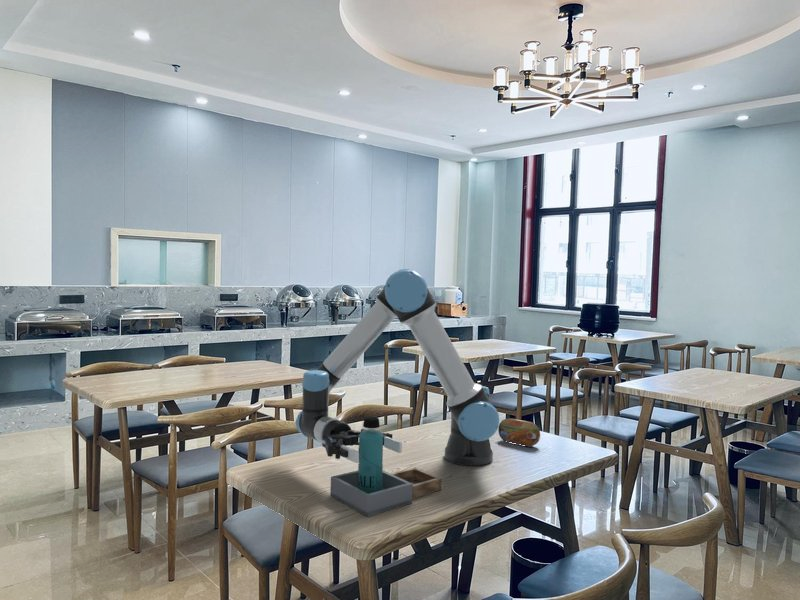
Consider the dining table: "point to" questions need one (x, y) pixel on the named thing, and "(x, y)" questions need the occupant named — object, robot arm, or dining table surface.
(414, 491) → the box
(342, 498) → the tub
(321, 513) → the dining table surface
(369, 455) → the beverage bottle
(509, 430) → the tin
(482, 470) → the dining table surface
